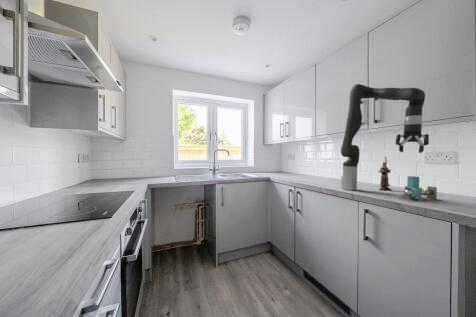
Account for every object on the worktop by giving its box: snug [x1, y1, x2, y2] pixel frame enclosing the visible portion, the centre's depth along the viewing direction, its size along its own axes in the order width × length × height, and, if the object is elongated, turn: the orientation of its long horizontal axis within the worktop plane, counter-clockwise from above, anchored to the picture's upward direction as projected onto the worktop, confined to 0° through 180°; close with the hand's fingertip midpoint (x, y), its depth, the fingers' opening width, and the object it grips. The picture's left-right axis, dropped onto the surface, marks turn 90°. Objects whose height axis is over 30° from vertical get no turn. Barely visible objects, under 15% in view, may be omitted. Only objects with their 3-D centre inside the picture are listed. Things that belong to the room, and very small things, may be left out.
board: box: [397, 196, 443, 202], centre depth 111 cm, size 20×8×1 cm, turn 97°
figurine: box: [378, 156, 392, 192], centre depth 142 cm, size 6×10×25 cm
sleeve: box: [403, 175, 423, 199], centre depth 110 cm, size 4×6×12 cm, turn 7°
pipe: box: [401, 186, 438, 200], centre depth 111 cm, size 18×4×7 cm, turn 97°
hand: (410, 152), depth 110 cm, fingers open, 8 cm apart
